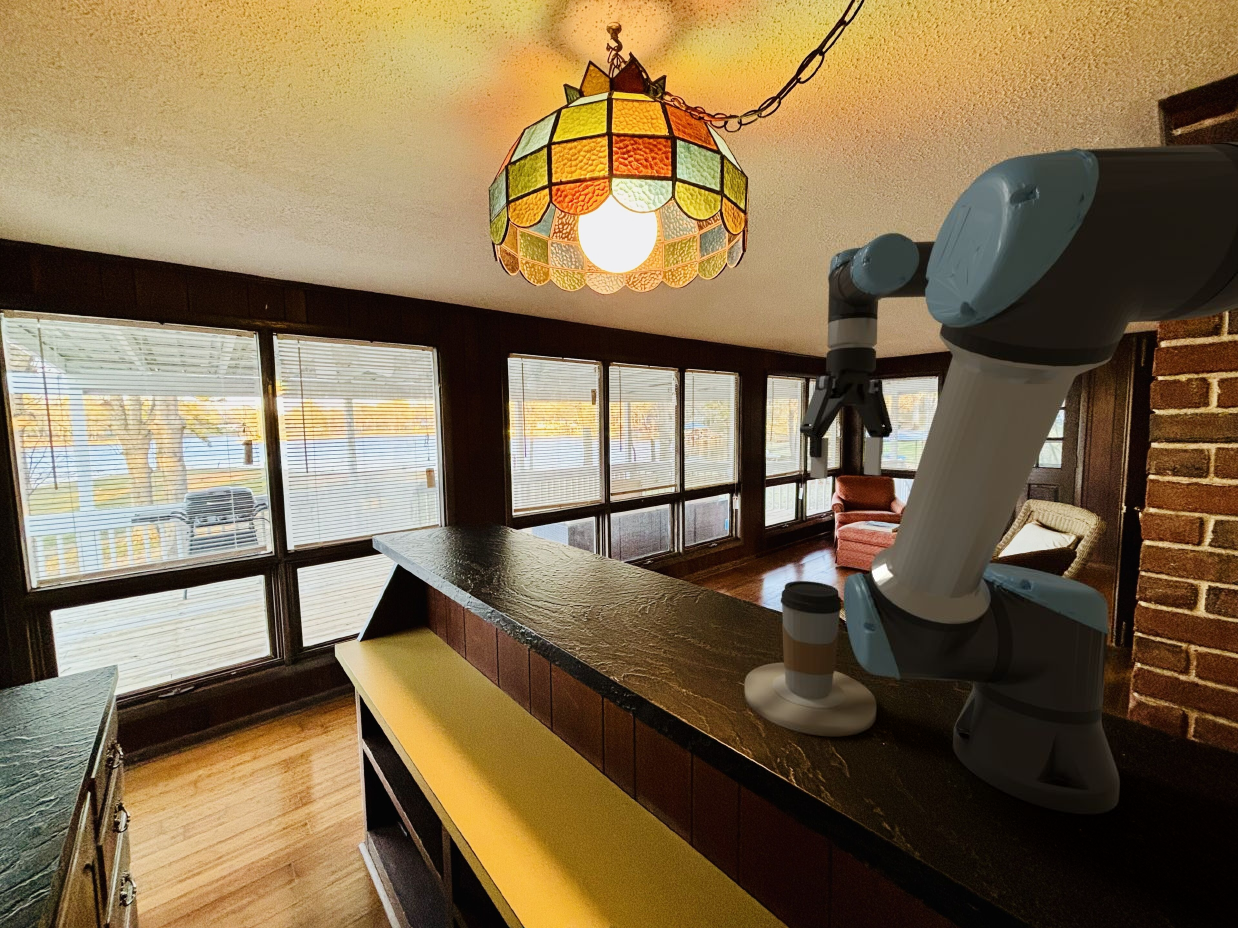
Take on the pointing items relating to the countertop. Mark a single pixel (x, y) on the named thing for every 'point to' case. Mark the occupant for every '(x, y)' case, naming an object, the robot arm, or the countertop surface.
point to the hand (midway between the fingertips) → (846, 476)
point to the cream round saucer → (811, 704)
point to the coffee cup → (810, 637)
